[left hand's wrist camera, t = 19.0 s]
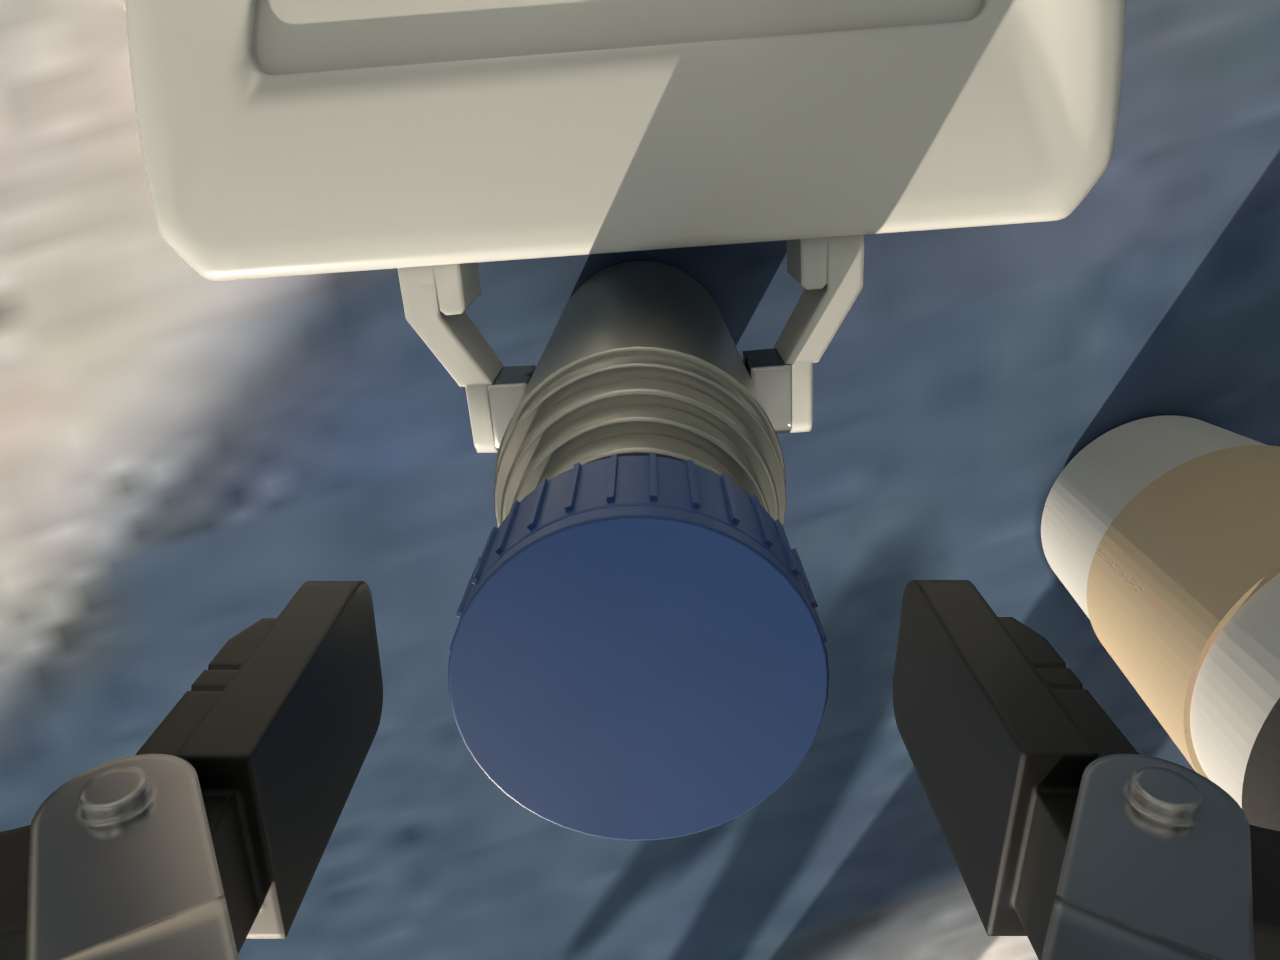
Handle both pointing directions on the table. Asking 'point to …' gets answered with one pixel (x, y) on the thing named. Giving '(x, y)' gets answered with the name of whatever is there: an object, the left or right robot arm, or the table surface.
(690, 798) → the cap
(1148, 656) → the coffee cup
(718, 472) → the bottle
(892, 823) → the table surface
